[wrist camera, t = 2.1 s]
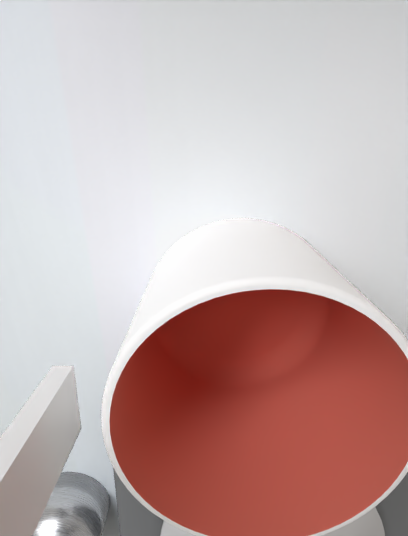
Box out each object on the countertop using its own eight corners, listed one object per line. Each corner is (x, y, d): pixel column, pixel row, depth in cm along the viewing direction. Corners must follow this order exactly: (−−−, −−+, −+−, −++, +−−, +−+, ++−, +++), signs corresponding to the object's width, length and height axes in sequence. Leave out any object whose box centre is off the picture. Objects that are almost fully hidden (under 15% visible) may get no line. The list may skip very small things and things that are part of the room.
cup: (364, 287, 20) (502, 409, 11) (248, 404, 23) (277, 588, 13) (224, 173, 18) (242, 201, 9) (114, 315, 21) (38, 454, 11)
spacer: (32, 471, 25) (1, 530, 21) (106, 471, 25) (88, 530, 21) (43, 525, 26) (15, 589, 22) (112, 525, 26) (96, 589, 22)
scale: (123, 411, 23) (106, 463, 19) (410, 411, 23) (451, 464, 19) (136, 560, 27) (124, 627, 23) (378, 561, 27) (407, 628, 23)
